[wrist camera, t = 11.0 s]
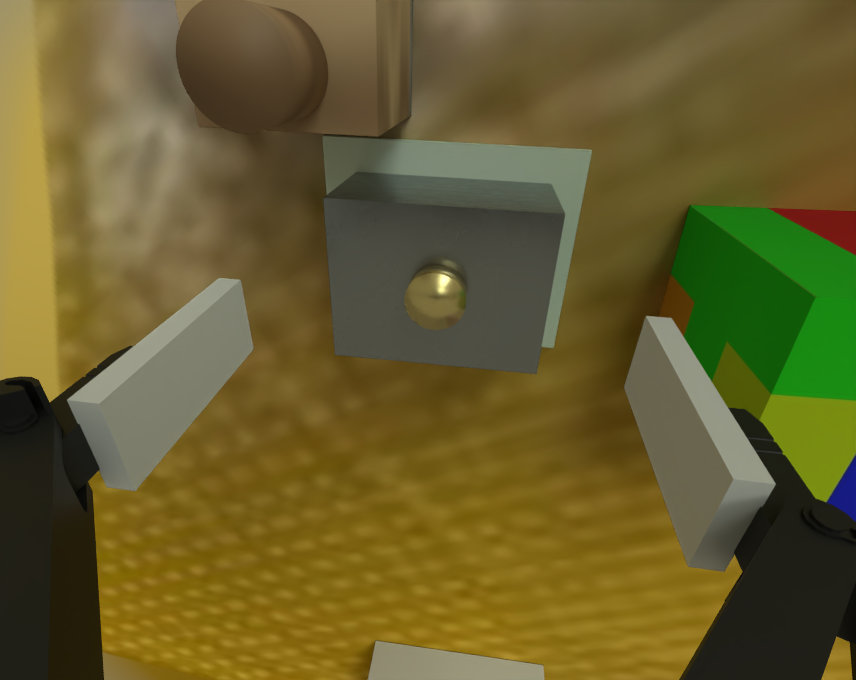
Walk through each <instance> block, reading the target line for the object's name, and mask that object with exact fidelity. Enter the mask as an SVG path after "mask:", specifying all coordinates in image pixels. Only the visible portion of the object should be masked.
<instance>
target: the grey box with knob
mask: <svg viewBox="0 0 856 680" xmlns="http://www.w3.org/2000/svg"><path fill="white" fill-rule="evenodd" d="M323 202H324V215H325V229H326V242H327V255H328V268H329V282H330V295H331V308H332V322H333V335H334V348H335V355H342V356H353V357H363V358H374V359H384V360H395V361H406V362H416V363H427V364H437V365H448V366H458V367H469V368H479V369H490V370H500V371H511V372H521V373H532V374H537V369H538V363H539V358H540V352H541V347H542V341H543V336H544V330H545V325H546V319H547V314H548V308H549V302H550V297H551V291H552V286H553V280H554V275H555V269H556V264H557V258H558V253H559V247H560V241H561V236H562V230H563V225H564V219H565V212H564V210H563V208H562V206H561V203H560V201H559V199H558V197H557V195H556V193H555V190H554V188H553V186H552V184H547V183H531V182H514V181H498V180H482V179H465V178H449V177H432V176H416V175H400V174H383V173H367V172H355V173H354V174H353V175H351V176H350V177H349V178H348V179H346V180H345V181H344V182H343V183H341V184H340V185H339V186H338V187H336V188H335V189H334V190H333V191H331V192H330V193H329V194H328V195H326V196H325V197H324V198H323Z"/></svg>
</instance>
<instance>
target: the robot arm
mask: <svg viewBox="0 0 856 680" xmlns="http://www.w3.org/2000/svg"><path fill="white" fill-rule="evenodd" d="M253 349H254V348H253V343H252V337H251V332H250V327H249V321H248V316H247V311H246V305H245V300H244V295H243V289H242V284H241V280H237V279H226V278H218V279H217V280H216V281H215V282H213V283H212V284H211V285H210V286H208V287H207V288H206V289H205V290H203V291H202V292H201V293H200V294H198V295H197V296H196V297H195V298H193V299H192V300H191V301H190V302H188V303H187V304H186V305H185V306H183V307H182V308H181V309H180V310H178V311H177V312H176V313H175V314H173V315H172V316H171V317H170V318H168V319H167V320H166V321H165V322H163V323H162V324H161V325H160V326H158V327H157V328H156V329H155V330H153V331H152V332H151V333H150V334H148V335H147V336H146V337H145V338H143V339H142V340H141V341H140V342H138V343H137V344H136V345H135V346H129V347H127V348H125V349H123V350H120V351H118V352H116V353H114V354H112V355H110V356H109V357H108V358H107V359H105V360H104V361H103V362H101V363H100V364H99V365H98V366H97V368H94V369H92V370H91V371H90V372H89V373H87V374H86V377H82V378H81V379H80V380H78V381H77V382H76V383H74V384H73V385H72V386H71V387H69V388H68V389H67V390H65V391H64V392H63V393H62V394H60V395H59V396H58V397H56V398H55V399H54V400H53V401H51V402H50V403H49V400H48V399H47V396H46V394H45V392H44V390H43V388H42V386H41V384H40V382H39V380H37V379H35V378H32V377H14V378H8V379H4V380H1V381H0V680H104V674H103V673H104V672H103V657H102V640H101V623H100V607H99V590H98V574H97V558H96V541H95V525H94V509H93V492H92V490H91V487H90V485H89V483H88V481H89V480H90V479H91V478H92V477H93V476H94V475H95V474H96V472H97V471H98V470H99V471H100V473H101V476H102V478H103V480H104V482H105V484H106V487H110V488H117V489H125V490H132V491H136V490H137V488H138V487H139V486H140V485H141V484H142V482H143V481H144V480H145V479H146V478H147V476H148V475H149V474H150V473H151V472H152V470H153V469H154V468H155V467H156V466H157V464H158V463H159V462H160V461H161V460H162V458H163V457H164V456H165V455H166V454H167V452H168V451H169V450H170V449H171V448H172V446H173V445H174V444H175V443H176V442H177V440H178V439H179V438H180V437H181V436H182V434H183V433H184V432H185V431H186V430H187V428H188V427H189V426H190V425H191V424H192V422H193V421H194V420H195V419H196V418H197V416H198V415H199V414H200V413H201V412H202V410H203V409H204V408H205V407H206V406H207V404H208V403H209V402H210V401H211V400H212V398H213V397H214V396H215V395H216V394H217V392H218V391H219V390H220V389H221V388H222V387H223V385H224V384H225V383H226V382H227V381H228V379H229V378H230V377H231V376H232V375H233V373H234V372H235V371H236V370H237V369H238V367H239V366H240V365H241V364H242V363H243V361H244V360H245V359H246V358H247V357H248V355H249V354H250V353H251V352H252V351H253ZM624 389H625V392H626V395H627V397H628V400H629V403H630V406H631V409H632V411H633V414H634V417H635V420H636V423H637V425H638V428H639V431H640V434H641V437H642V439H643V442H644V445H645V448H646V451H647V453H648V456H649V459H650V462H651V465H652V467H653V470H654V473H655V476H656V479H657V481H658V484H659V487H660V490H661V493H662V495H663V498H664V501H665V504H666V507H667V509H668V512H669V515H670V518H671V521H672V523H673V526H674V529H675V532H676V534H677V537H678V540H679V543H680V546H681V548H682V551H683V554H684V557H685V560H686V562H687V565H688V567H695V568H702V569H709V570H717V571H725V570H726V568H727V566H728V565H729V563H730V561H731V559H732V558H733V556H734V554H735V556H736V558H737V560H738V563H739V565H740V567H741V569H742V571H743V572H742V574H741V575H740V577H739V579H738V580H737V582H736V583H735V585H734V587H733V588H732V590H731V591H730V593H729V595H728V596H727V598H726V599H725V602H724V604H723V606H722V608H721V609H720V611H719V613H718V614H717V616H716V618H715V620H714V621H713V623H712V625H711V626H710V628H709V630H708V631H707V633H706V635H705V637H704V638H703V640H702V642H701V643H700V645H699V647H698V649H697V650H696V652H695V654H694V655H693V657H692V659H691V661H690V662H689V664H688V666H687V667H686V669H685V671H684V672H683V674H682V676H681V678H680V679H679V680H821V678H822V676H823V673H824V670H825V667H826V664H827V661H828V659H829V656H830V653H831V650H832V647H833V644H834V642H835V639H836V636H837V637H839V638H842V639H844V640H847V641H849V642H850V652H851V664H852V677H853V680H856V521H855V520H853V519H852V518H851V517H850V516H849V515H848V514H846V513H845V512H843V511H842V510H840V509H838V508H837V507H835V506H834V505H831V504H829V503H826V502H824V501H822V500H819V499H815V497H814V496H813V494H812V493H811V491H810V490H809V489H808V487H807V486H806V484H805V483H804V481H803V480H802V478H801V477H800V476H799V474H798V473H797V471H796V470H795V468H794V467H793V466H792V464H791V463H790V461H789V460H788V458H787V457H786V455H783V451H782V450H781V448H780V447H779V445H778V444H777V443H776V442H774V438H773V437H772V435H771V434H770V432H769V431H768V430H767V428H766V427H765V425H764V424H763V423H762V422H761V421H759V420H758V419H757V418H756V417H754V416H753V415H752V414H751V413H749V412H748V411H747V410H746V409H738V408H729V407H727V405H726V404H725V402H724V401H723V399H722V398H721V396H720V394H719V393H718V391H717V390H716V388H715V386H714V385H713V383H712V382H711V380H710V378H709V377H708V375H707V374H706V372H705V370H704V369H703V367H702V366H701V364H700V362H699V361H698V359H697V358H696V356H695V355H694V353H693V351H692V350H691V348H690V347H689V345H688V343H687V342H686V340H685V339H684V337H683V335H682V334H681V332H680V331H679V329H678V327H677V326H676V324H675V323H674V321H673V320H672V318H665V317H654V316H646V317H645V320H644V323H643V327H642V330H641V333H640V336H639V340H638V343H637V346H636V349H635V353H634V356H633V359H632V363H631V366H630V369H629V372H628V376H627V379H626V382H625V385H624Z"/></svg>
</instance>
